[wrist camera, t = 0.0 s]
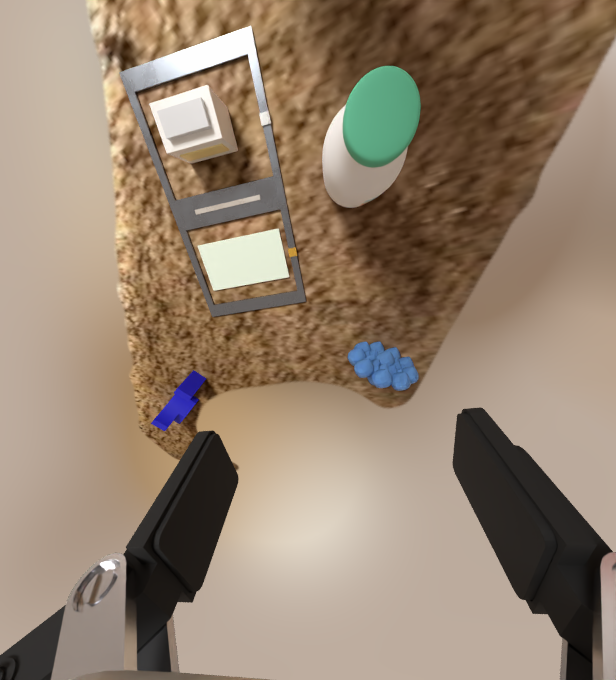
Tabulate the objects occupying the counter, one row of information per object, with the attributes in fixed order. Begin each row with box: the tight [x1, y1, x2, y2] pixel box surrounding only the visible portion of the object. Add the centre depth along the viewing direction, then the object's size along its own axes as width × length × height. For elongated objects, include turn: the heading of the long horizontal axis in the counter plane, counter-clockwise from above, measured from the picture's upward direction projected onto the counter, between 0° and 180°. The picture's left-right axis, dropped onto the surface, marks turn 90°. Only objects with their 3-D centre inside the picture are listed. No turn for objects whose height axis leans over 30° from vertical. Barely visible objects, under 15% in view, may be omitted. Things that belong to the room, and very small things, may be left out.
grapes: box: [348, 342, 419, 391], centre depth 38 cm, size 12×7×12 cm, turn 73°
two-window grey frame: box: [119, 26, 306, 317], centre depth 35 cm, size 32×17×1 cm, turn 11°
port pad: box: [198, 229, 289, 291], centre depth 38 cm, size 7×13×1 cm, turn 101°
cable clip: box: [151, 370, 206, 431], centre depth 49 cm, size 12×4×6 cm, turn 140°
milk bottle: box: [322, 66, 421, 208], centre depth 23 cm, size 8×8×20 cm
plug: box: [150, 85, 238, 164], centre depth 29 cm, size 5×7×6 cm, turn 101°
